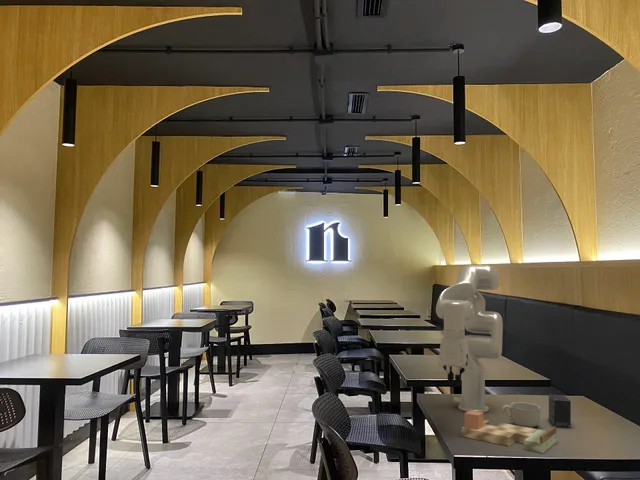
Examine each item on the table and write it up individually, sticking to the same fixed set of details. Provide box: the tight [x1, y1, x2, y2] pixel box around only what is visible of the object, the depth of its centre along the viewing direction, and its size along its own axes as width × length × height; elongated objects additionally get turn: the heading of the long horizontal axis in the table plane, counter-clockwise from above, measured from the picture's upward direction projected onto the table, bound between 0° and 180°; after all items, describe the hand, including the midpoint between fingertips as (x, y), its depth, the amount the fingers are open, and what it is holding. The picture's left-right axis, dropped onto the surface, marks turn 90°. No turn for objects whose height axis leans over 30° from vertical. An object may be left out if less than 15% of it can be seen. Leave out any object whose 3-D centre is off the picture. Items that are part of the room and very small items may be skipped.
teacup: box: [501, 401, 541, 429], centre depth 208 cm, size 14×11×8 cm
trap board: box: [461, 419, 558, 454], centre depth 191 cm, size 28×16×5 cm, turn 52°
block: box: [464, 410, 484, 430], centre depth 195 cm, size 5×5×5 cm
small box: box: [548, 393, 572, 429], centre depth 211 cm, size 11×6×10 cm, turn 168°
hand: (454, 384), depth 200 cm, fingers closed
